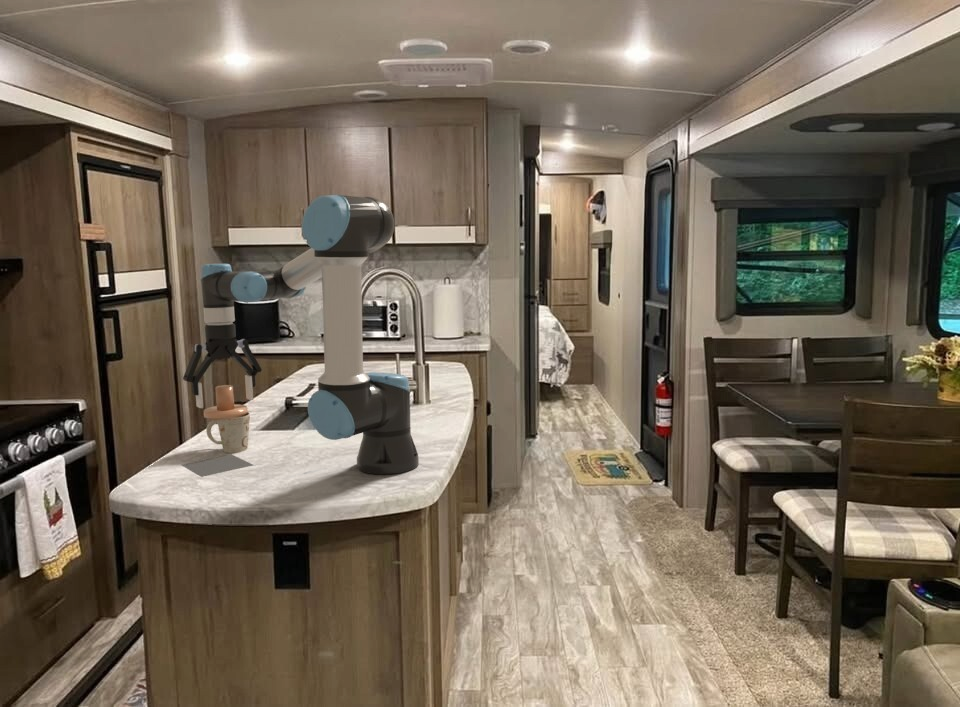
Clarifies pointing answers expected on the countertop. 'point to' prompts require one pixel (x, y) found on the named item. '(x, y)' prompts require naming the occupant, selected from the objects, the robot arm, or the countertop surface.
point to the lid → (225, 405)
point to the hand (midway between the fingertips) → (225, 403)
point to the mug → (231, 433)
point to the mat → (216, 465)
